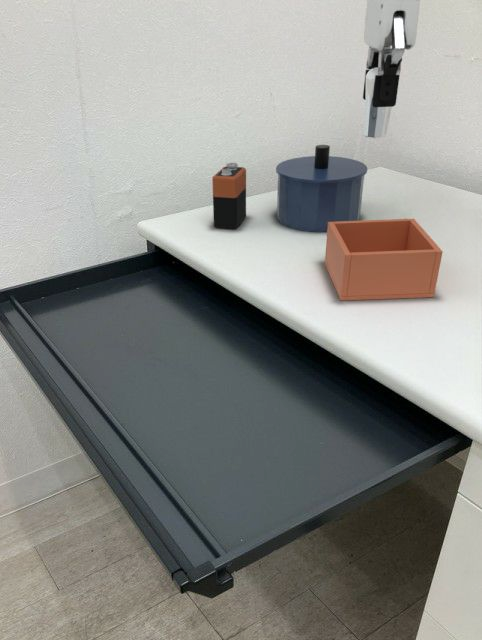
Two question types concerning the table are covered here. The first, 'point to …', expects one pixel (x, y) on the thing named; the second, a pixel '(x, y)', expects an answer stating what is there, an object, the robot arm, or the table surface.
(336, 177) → the pot lid
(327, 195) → the pot
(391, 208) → the table surface
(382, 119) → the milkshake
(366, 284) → the bin
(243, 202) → the battery
